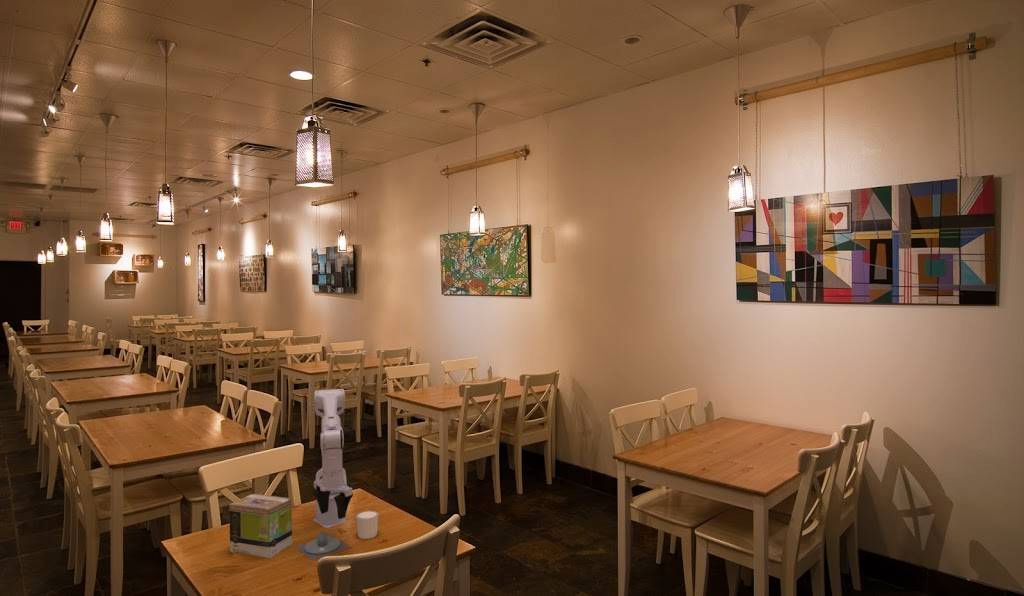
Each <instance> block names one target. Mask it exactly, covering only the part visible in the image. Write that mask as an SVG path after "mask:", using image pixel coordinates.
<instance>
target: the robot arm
mask: <svg viewBox="0 0 1024 596" xmlns="http://www.w3.org/2000/svg"><path fill="white" fill-rule="evenodd" d="M313 392H314V395H313V399H314V400H313V401H314V405H313V406H314V413H315V415H316V416H318V417H321V421H320V422H321V433H320V449H321V465H322V467H321V468H319V470H318V471H317V472H316V474H315V480H314V481H313V488H315V489H314V490H312V494H313V496H314V498H315V518H314V519H312V520H313V522H315V523H317V524H318V525H320V526H322V527H323V528H325V529H327V528H331V527H334V526H337V525H340V524H343V523H346V522H348V521H349V520H347V519H346V516H347V511H348V508H349V504H350V502H351V500H352V498H353V496H354V493H353V487H349V486H348V483H347V472H346V469H345V468H343V449H344V445H345V442H344V441H345V438H344V436H345V435H344V430H343V427H342V423H341V422H342V421H341V417H340V415H341V414H344V411H345V405H346V393H345V389H344V388H337V389H335V388H334V389H320V390H318V389H315V391H313Z"/></svg>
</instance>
